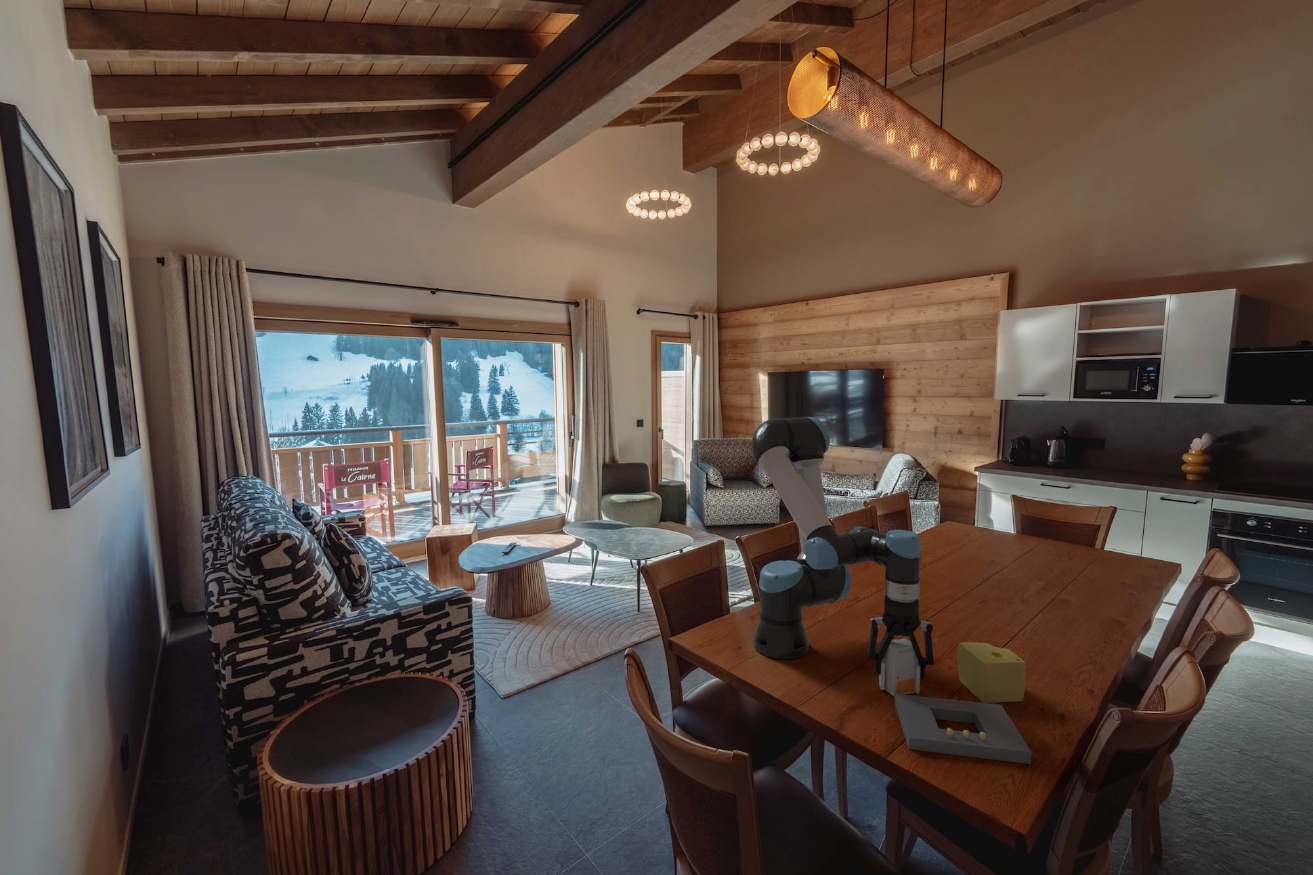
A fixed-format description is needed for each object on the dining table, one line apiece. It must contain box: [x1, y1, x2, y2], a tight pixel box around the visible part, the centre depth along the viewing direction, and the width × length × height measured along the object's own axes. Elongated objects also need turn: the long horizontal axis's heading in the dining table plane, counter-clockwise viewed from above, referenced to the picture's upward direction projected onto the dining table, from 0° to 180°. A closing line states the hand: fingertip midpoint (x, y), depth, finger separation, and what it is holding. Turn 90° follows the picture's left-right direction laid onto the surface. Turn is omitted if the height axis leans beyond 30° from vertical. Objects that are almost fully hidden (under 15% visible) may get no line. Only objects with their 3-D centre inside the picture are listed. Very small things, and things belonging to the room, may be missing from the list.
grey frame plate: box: [894, 694, 1032, 765], centre depth 119 cm, size 22×16×4 cm
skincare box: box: [883, 638, 917, 698], centre depth 134 cm, size 6×4×12 cm
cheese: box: [957, 641, 1027, 704], centre depth 133 cm, size 10×11×10 cm
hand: (898, 688), depth 134 cm, fingers closed on skincare box, 7 cm apart
